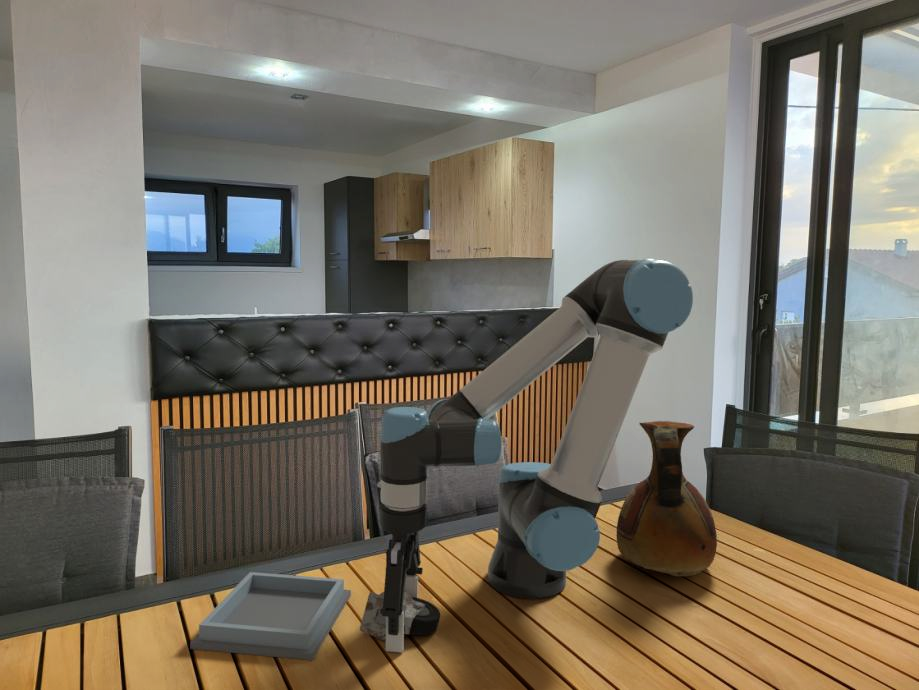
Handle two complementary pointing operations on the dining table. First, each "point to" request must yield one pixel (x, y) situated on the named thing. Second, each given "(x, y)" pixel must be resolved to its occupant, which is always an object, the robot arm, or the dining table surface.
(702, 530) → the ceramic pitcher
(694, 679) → the dining table surface
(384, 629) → the caster wheel
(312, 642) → the tray
